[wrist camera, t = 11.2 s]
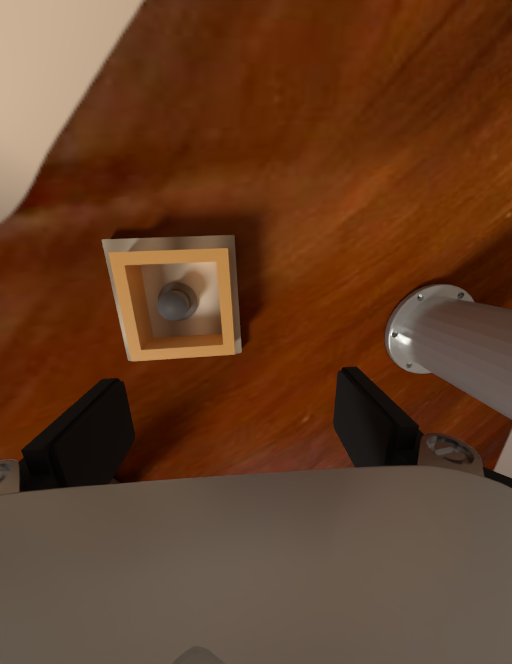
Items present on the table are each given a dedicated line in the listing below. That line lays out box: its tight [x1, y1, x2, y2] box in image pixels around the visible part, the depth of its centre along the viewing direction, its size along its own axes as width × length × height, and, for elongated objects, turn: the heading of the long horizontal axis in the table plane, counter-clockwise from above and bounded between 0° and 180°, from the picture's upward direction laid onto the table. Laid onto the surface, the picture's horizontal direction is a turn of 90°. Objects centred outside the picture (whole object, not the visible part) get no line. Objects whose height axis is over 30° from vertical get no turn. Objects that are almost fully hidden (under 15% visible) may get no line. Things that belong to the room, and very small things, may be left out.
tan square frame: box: [108, 248, 235, 361], centre depth 26 cm, size 11×11×4 cm
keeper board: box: [102, 235, 242, 361], centre depth 27 cm, size 14×14×4 cm
